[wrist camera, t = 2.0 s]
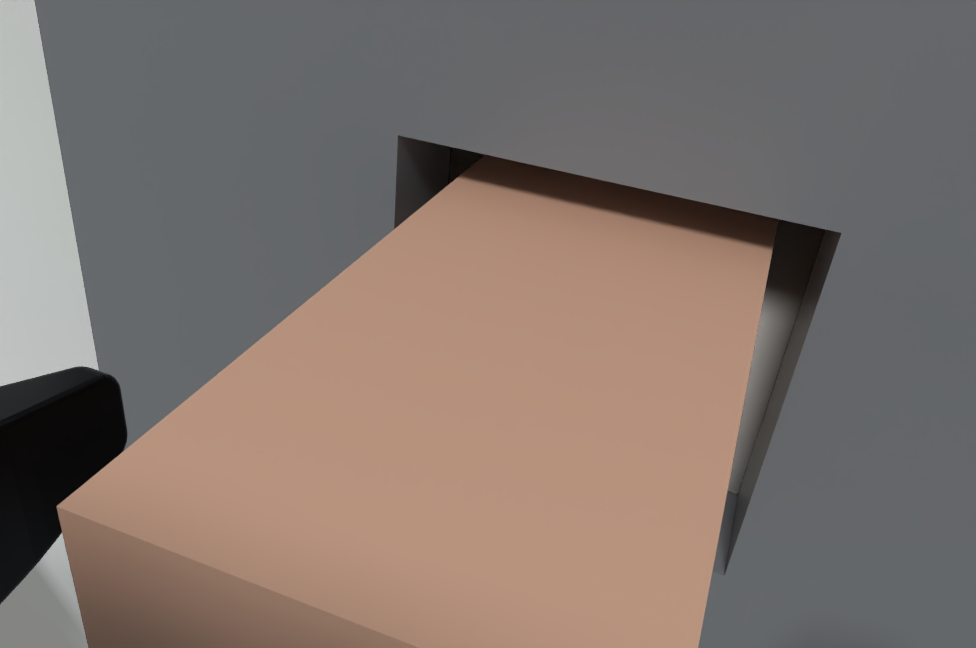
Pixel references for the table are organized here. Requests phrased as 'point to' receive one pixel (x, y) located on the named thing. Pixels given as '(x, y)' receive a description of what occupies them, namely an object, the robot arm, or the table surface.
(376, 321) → the tan rectangular block
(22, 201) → the table surface
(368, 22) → the pocket plate
